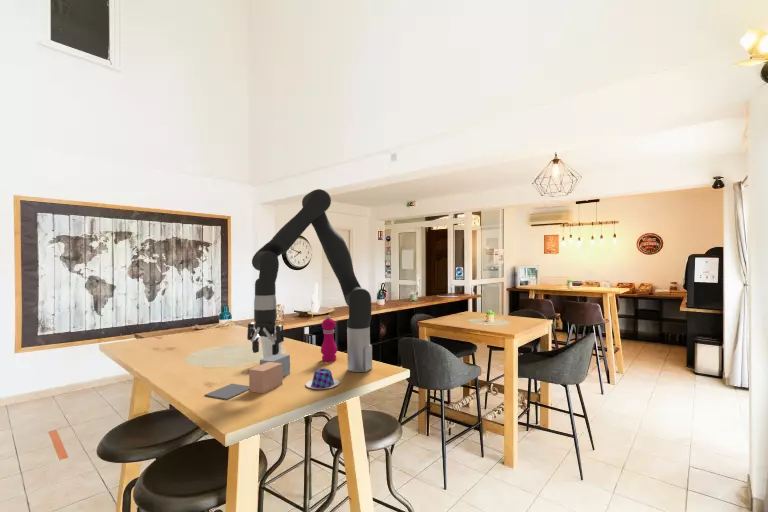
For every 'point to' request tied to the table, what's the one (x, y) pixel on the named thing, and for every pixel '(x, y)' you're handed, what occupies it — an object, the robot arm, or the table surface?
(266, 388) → the cover terracotta
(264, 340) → the foam cup
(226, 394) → the mat
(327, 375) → the pudding
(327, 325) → the pepper mill
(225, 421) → the table surface
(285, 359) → the plate
